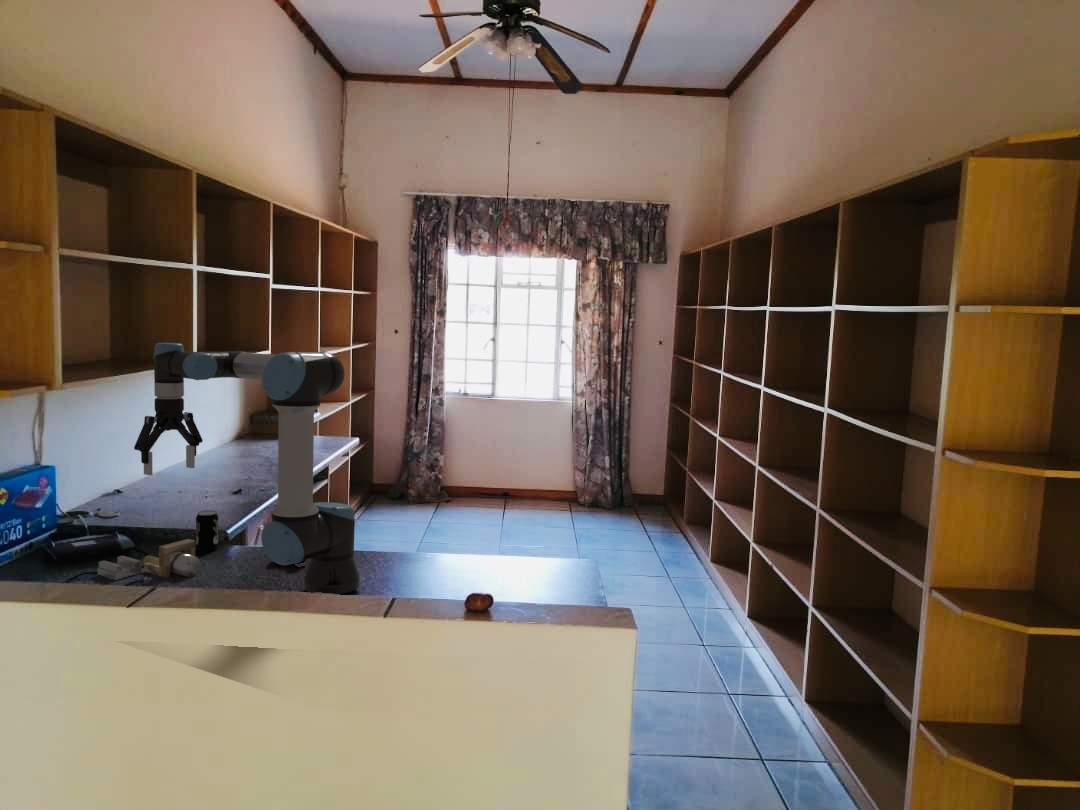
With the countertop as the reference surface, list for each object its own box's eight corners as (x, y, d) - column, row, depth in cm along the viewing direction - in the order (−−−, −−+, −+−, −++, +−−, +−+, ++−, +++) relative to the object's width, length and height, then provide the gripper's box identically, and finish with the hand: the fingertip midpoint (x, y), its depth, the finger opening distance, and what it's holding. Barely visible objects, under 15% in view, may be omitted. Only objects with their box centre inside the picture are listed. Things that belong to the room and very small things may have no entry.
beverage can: (210, 552, 242) (209, 515, 241) (191, 550, 244) (191, 513, 243) (222, 547, 249) (222, 511, 248) (204, 545, 250) (204, 509, 249)
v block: (141, 572, 221) (141, 560, 221) (115, 580, 214) (115, 567, 214) (124, 567, 225) (123, 555, 225) (97, 575, 218) (97, 562, 217)
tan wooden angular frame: (195, 568, 227) (194, 540, 226) (166, 577, 218) (165, 548, 217) (173, 563, 231) (173, 535, 230) (144, 571, 223) (144, 542, 222)
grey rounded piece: (200, 573, 223) (200, 553, 222) (182, 579, 218) (182, 558, 217) (179, 568, 227) (179, 548, 227) (161, 573, 222) (161, 553, 221)
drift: (173, 569, 226) (174, 560, 226) (165, 572, 224) (165, 562, 223) (151, 563, 231) (151, 554, 230) (143, 565, 228) (143, 556, 228)
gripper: (197, 393, 230) (198, 463, 232) (119, 399, 208) (120, 476, 210) (215, 395, 227) (215, 466, 229) (137, 401, 205) (137, 479, 207)
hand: (169, 471), depth 219 cm, fingers open, 13 cm apart
